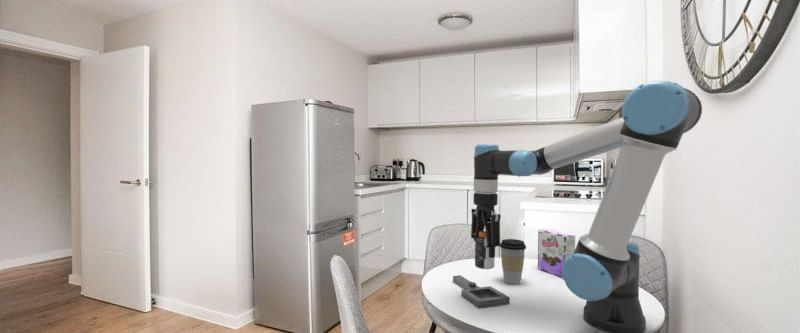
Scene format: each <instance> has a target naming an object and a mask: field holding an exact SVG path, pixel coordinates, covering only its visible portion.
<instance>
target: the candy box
mask: <svg viewBox="0 0 800 333" xmlns="http://www.w3.org/2000/svg"><path fill="white" fill-rule="evenodd" d="M537 233H538V234H537V269H538V270H540V271H543V272H545V273H548V274H551V275H553V276H557V277H559V278H562V279H563V277H562V265H563V263H564V261H565V260H566V259H567V258H568V257H569V256H570V255H572V254H574V251H575V249H576V234H574V233H573V234H572V233H567V232H564V231H558V230H555V229H550V228H542V229H538V230H537Z"/></svg>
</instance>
